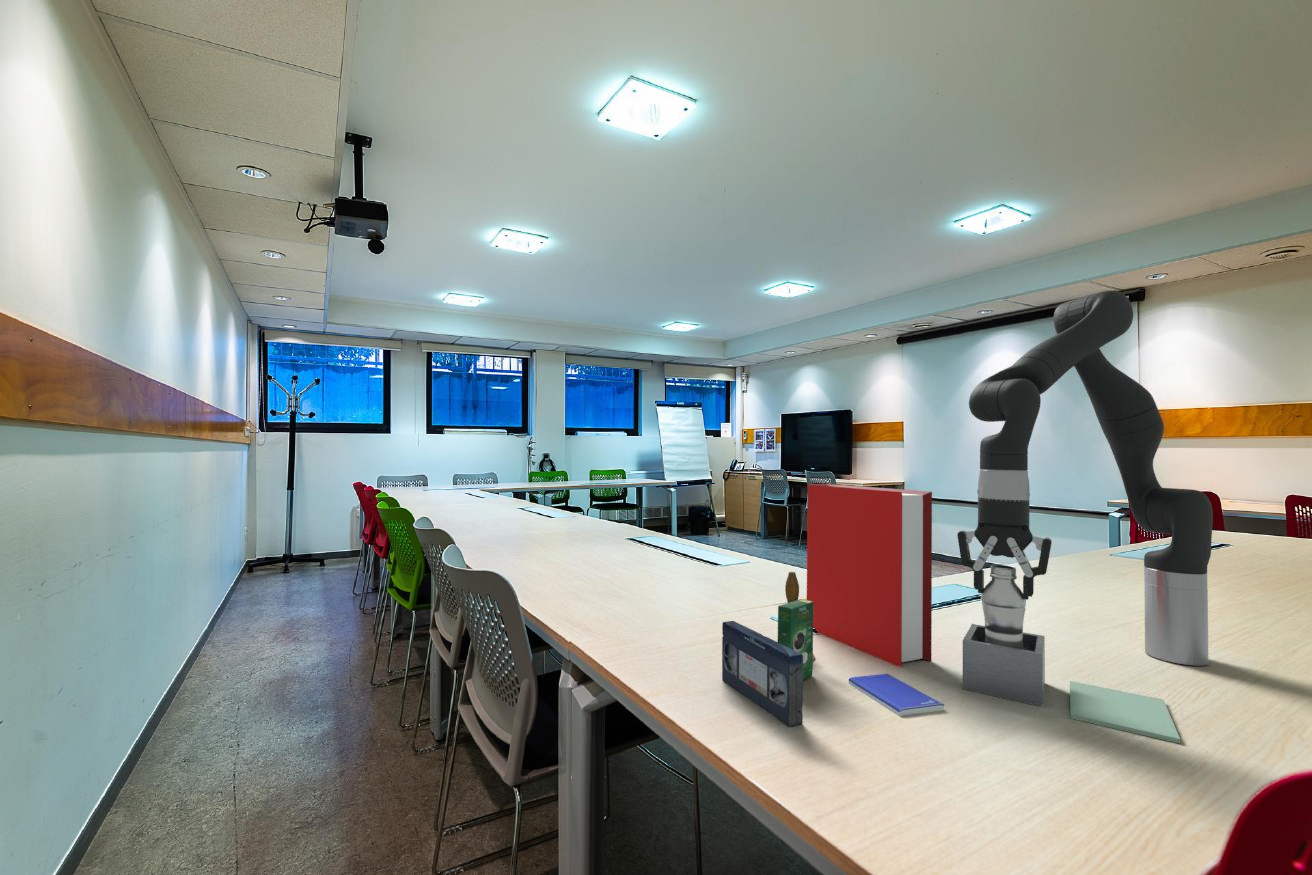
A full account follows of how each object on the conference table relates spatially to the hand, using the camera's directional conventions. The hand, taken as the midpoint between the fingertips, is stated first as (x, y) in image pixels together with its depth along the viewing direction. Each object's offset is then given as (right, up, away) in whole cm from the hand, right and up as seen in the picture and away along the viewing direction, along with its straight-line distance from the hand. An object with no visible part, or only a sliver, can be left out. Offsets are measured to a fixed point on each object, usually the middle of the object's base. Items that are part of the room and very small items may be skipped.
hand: (1002, 595), depth 96 cm
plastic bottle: (0, -15, -1) cm, 15 cm away
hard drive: (-21, -15, -6) cm, 26 cm away
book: (-17, -16, +21) cm, 31 cm away
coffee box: (-35, -15, 0) cm, 38 cm away
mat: (+12, -15, -9) cm, 21 cm away
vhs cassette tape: (-43, -14, -8) cm, 46 cm away
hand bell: (-33, -15, +12) cm, 38 cm away
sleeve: (0, -15, -1) cm, 15 cm away
